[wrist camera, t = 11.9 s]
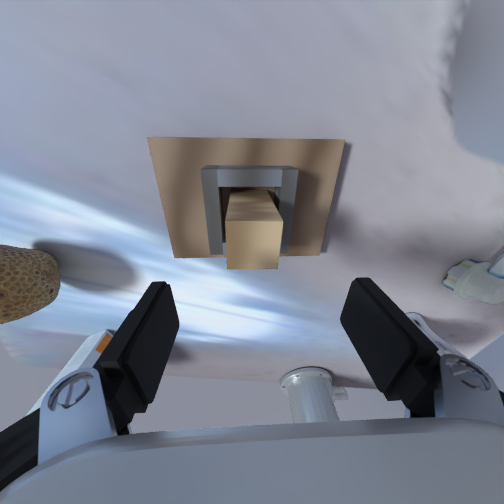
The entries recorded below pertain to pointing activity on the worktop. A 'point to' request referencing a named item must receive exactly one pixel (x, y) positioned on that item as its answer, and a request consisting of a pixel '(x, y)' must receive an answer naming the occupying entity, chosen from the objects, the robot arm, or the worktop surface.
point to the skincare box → (81, 358)
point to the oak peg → (252, 230)
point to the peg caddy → (244, 177)
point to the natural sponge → (26, 281)
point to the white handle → (478, 280)
